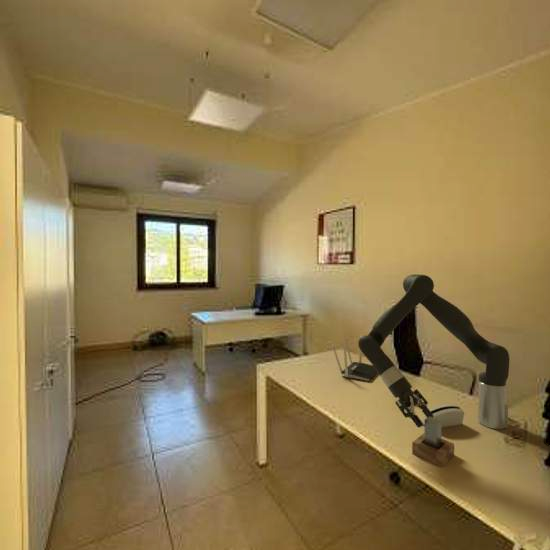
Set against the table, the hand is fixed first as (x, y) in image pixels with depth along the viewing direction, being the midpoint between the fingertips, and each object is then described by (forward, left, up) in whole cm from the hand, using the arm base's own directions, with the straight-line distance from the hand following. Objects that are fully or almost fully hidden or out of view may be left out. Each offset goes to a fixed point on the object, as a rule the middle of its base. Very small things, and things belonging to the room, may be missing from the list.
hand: (426, 422), depth 112 cm
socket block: (-2, +1, -10) cm, 11 cm away
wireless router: (+16, -82, -11) cm, 84 cm away
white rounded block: (-13, -20, -11) cm, 26 cm away
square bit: (-2, +1, -10) cm, 11 cm away
